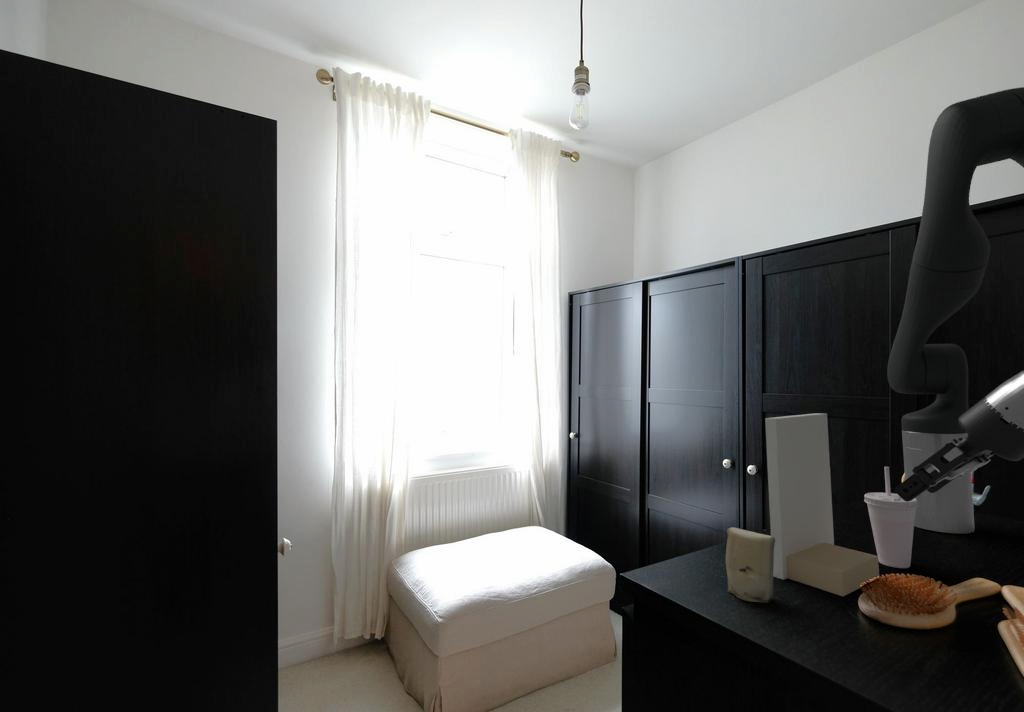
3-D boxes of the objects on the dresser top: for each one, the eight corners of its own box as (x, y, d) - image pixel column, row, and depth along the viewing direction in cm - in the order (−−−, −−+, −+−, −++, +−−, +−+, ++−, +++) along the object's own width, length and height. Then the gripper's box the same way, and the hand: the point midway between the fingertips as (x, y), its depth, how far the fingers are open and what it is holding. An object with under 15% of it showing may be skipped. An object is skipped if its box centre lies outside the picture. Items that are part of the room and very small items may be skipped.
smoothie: (908, 557, 75) (903, 464, 75) (932, 573, 68) (925, 472, 69) (860, 554, 76) (855, 463, 77) (878, 569, 70) (872, 470, 71)
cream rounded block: (769, 588, 65) (766, 526, 65) (783, 606, 60) (780, 539, 60) (723, 586, 66) (721, 525, 66) (733, 603, 61) (730, 537, 61)
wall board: (824, 555, 76) (816, 413, 77) (889, 573, 69) (879, 415, 70) (772, 576, 69) (765, 418, 70) (839, 598, 61) (829, 421, 63)
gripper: (1006, 392, 68) (910, 465, 77) (969, 395, 60) (868, 476, 69) (1066, 434, 63) (956, 506, 72) (1035, 443, 55) (916, 523, 64)
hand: (913, 491), depth 71 cm, fingers open, 8 cm apart
